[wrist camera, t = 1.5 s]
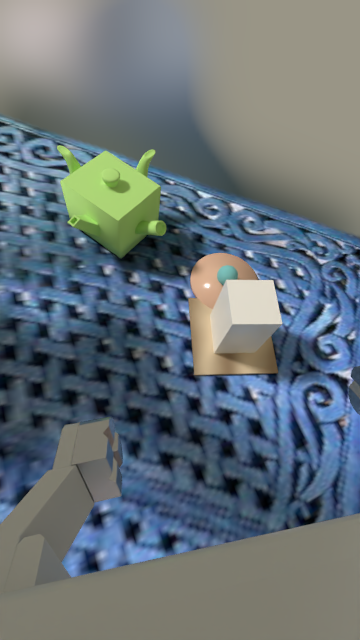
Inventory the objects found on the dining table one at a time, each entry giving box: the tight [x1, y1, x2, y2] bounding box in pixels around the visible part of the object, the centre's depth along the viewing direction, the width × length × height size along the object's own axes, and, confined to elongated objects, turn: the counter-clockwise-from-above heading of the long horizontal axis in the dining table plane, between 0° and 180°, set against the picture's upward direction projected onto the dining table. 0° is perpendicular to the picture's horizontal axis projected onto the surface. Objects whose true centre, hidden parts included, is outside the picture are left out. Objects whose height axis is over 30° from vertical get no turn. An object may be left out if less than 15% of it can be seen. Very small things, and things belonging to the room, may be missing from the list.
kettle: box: [57, 146, 166, 259], centre depth 49 cm, size 15×14×11 cm
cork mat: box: [188, 298, 278, 375], centre depth 47 cm, size 12×12×1 cm
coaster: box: [190, 253, 258, 309], centre depth 51 cm, size 11×11×1 cm
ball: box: [217, 265, 238, 285], centre depth 50 cm, size 3×3×3 cm
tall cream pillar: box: [210, 280, 282, 354], centre depth 43 cm, size 6×6×10 cm
